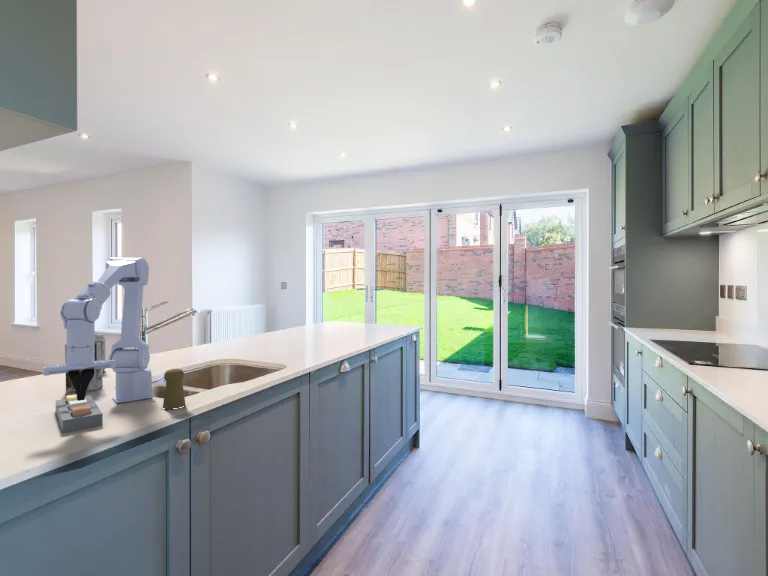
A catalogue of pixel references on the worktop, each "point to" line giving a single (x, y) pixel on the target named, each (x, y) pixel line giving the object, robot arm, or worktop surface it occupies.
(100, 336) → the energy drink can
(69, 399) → the brass key
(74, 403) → the grey key
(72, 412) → the terracotta key
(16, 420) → the worktop surface
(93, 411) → the keypad
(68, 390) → the coffee box
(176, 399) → the cork
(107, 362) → the robot arm
